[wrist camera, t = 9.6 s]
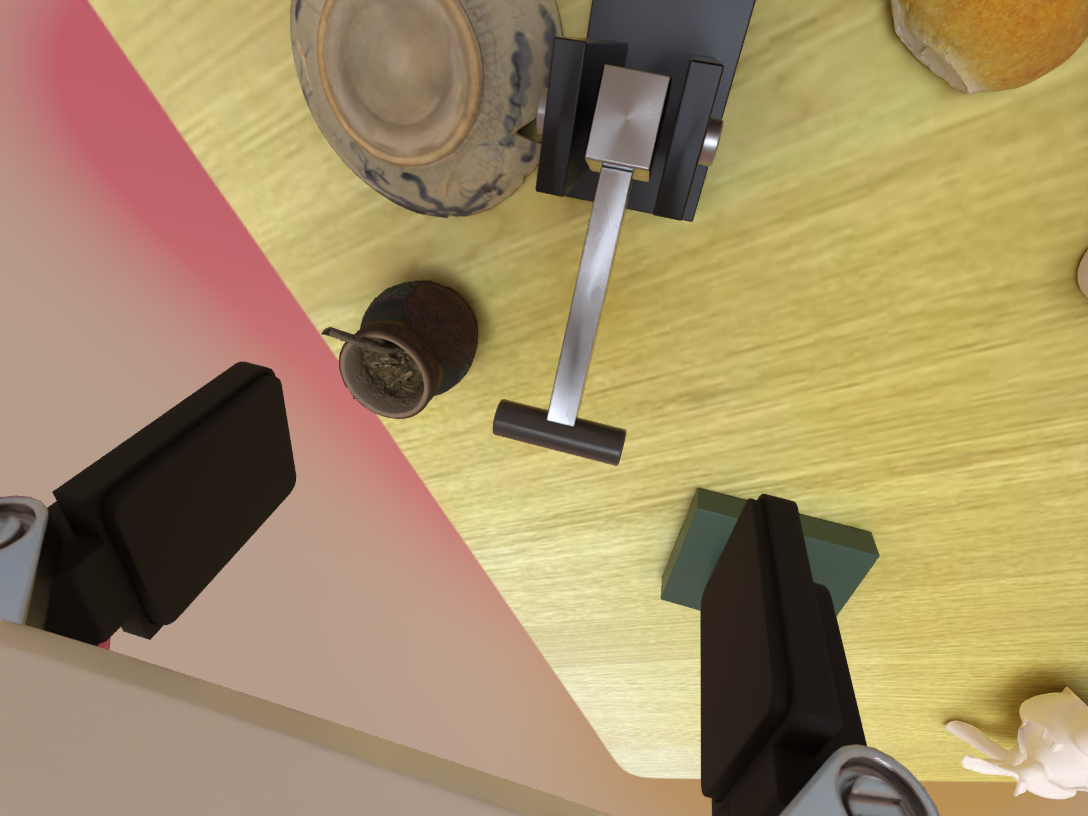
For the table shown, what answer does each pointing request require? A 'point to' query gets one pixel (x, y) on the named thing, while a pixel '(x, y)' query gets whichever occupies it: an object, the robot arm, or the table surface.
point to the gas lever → (596, 262)
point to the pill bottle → (1083, 274)
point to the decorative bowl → (428, 93)
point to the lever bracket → (655, 46)
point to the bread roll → (991, 38)
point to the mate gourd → (408, 348)
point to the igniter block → (709, 524)
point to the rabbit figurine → (1038, 747)
